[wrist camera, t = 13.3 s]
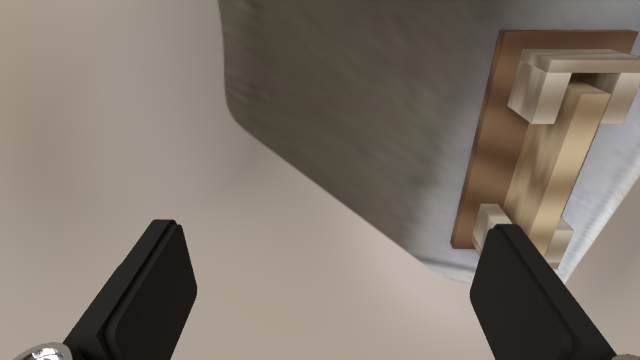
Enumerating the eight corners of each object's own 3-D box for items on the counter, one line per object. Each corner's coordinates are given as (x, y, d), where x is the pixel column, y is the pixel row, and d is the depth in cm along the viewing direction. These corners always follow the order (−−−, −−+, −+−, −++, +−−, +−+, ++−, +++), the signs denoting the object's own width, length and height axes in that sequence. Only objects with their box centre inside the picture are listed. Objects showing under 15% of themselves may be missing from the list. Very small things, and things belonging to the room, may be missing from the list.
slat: (543, 76, 34) (581, 94, 29) (568, 76, 34) (611, 94, 29) (498, 224, 43) (520, 258, 38) (517, 224, 43) (543, 258, 38)
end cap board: (499, 30, 34) (532, 40, 28) (628, 30, 33) (685, 40, 28) (450, 242, 47) (465, 277, 41) (542, 243, 46) (570, 278, 41)
